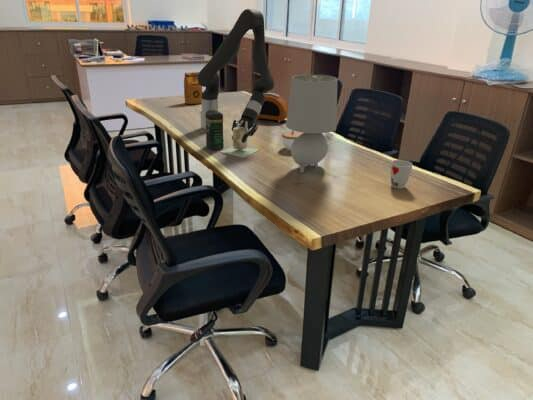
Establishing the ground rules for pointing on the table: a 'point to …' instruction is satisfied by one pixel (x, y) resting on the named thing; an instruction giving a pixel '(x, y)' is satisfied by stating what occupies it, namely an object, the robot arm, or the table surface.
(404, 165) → the cup
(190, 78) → the coffee package
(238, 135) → the maple block
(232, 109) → the table surface
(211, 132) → the coffee jar
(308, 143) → the table lamp
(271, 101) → the alarm clock
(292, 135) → the lidded jar
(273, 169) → the table surface
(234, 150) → the green mat
